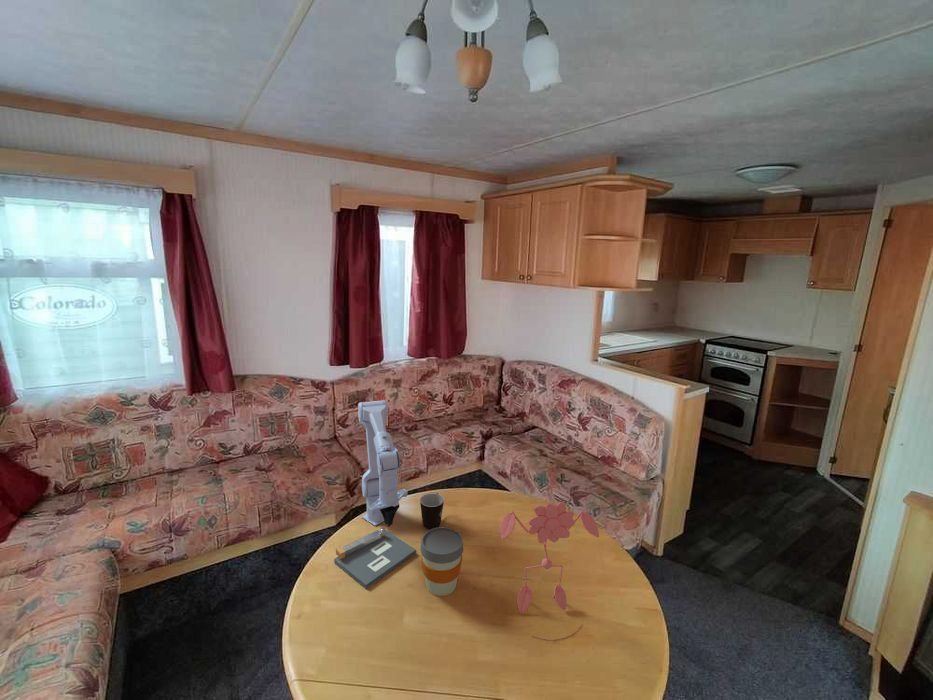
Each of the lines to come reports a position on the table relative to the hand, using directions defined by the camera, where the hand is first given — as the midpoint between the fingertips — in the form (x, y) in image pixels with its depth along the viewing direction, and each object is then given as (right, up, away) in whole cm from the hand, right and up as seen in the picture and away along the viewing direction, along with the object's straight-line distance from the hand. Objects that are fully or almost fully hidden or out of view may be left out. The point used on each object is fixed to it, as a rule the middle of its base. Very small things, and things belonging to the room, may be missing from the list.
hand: (388, 524), depth 135 cm
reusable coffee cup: (+18, -13, -11) cm, 25 cm away
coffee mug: (+13, -7, +18) cm, 23 cm away
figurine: (+46, -17, -21) cm, 54 cm away
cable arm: (-10, -7, 0) cm, 12 cm away
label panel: (-4, -10, -2) cm, 11 cm away
